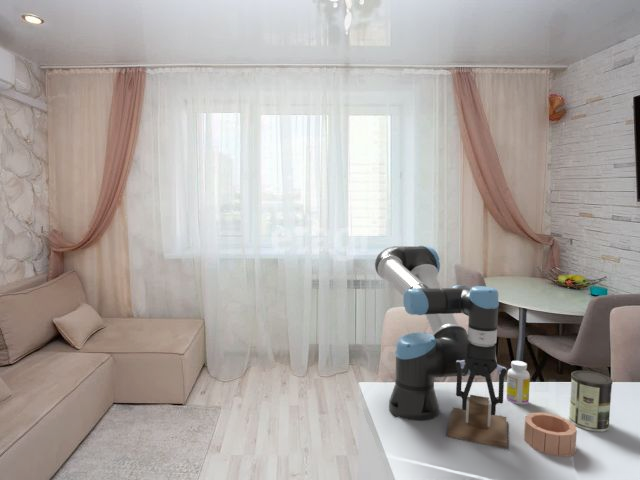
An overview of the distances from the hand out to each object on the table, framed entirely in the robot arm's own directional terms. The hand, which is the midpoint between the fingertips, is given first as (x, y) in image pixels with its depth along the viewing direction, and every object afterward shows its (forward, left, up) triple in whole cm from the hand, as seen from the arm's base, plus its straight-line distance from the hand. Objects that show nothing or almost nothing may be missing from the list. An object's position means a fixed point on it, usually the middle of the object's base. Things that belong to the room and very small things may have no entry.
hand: (478, 422), depth 125 cm
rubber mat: (0, 0, -2) cm, 2 cm away
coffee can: (+30, +18, -3) cm, 35 cm away
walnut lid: (0, 0, -2) cm, 2 cm away
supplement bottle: (+11, +25, -3) cm, 27 cm away
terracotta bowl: (+18, 0, -2) cm, 18 cm away
